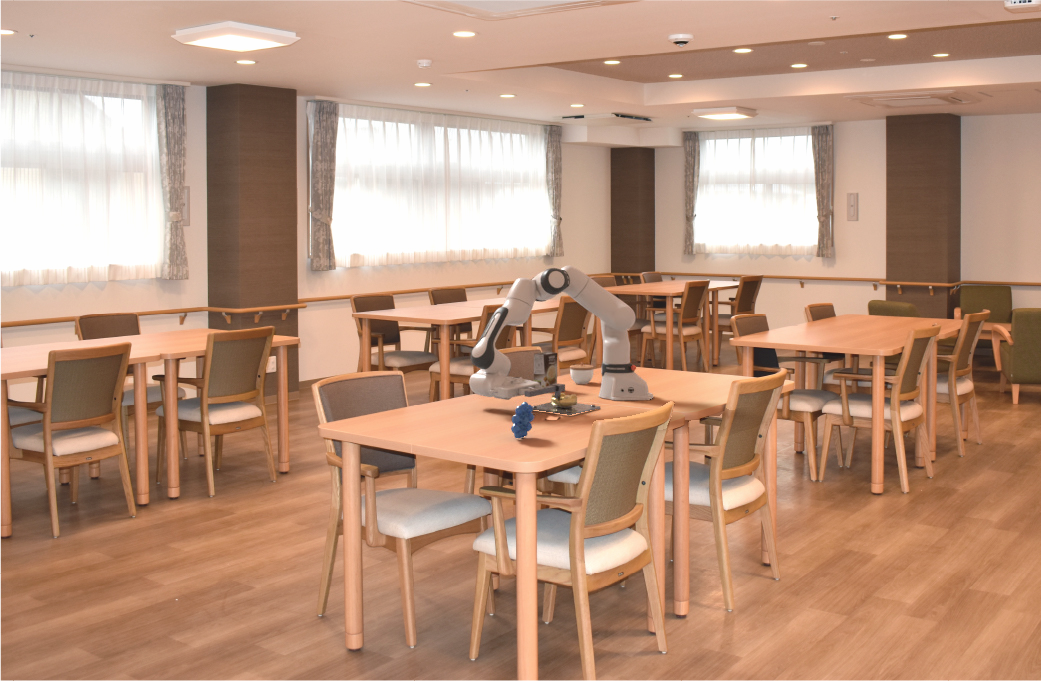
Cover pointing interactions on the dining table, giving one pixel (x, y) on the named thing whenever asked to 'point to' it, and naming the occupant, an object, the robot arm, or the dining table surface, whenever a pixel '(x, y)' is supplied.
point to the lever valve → (556, 399)
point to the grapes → (522, 420)
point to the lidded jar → (581, 373)
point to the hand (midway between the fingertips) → (534, 392)
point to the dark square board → (565, 408)
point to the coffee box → (545, 368)
